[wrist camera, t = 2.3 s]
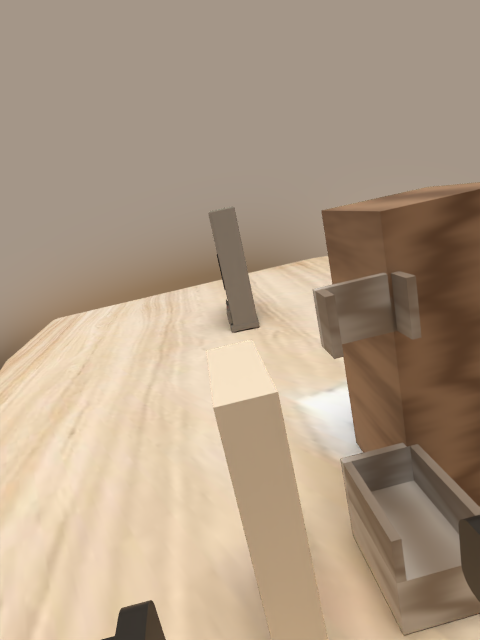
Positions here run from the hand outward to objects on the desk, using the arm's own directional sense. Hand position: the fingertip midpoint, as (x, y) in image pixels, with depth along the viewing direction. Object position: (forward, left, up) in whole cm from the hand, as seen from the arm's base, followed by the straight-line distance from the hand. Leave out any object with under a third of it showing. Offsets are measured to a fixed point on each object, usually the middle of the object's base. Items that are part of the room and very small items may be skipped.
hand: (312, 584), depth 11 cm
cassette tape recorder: (-6, -84, -17) cm, 85 cm away
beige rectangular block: (0, -13, -17) cm, 21 cm away
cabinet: (-13, -20, -17) cm, 29 cm away
